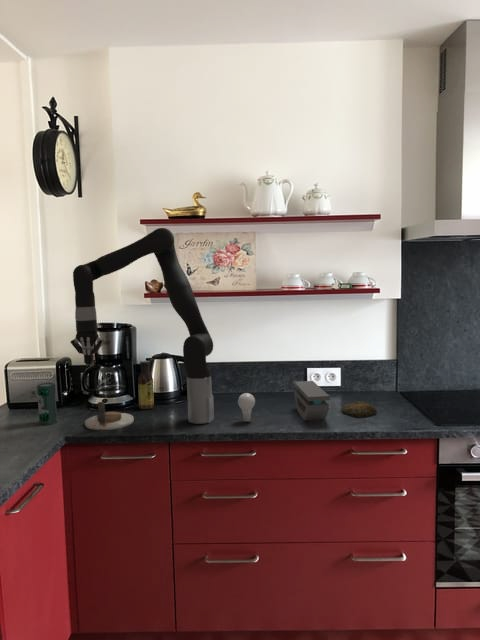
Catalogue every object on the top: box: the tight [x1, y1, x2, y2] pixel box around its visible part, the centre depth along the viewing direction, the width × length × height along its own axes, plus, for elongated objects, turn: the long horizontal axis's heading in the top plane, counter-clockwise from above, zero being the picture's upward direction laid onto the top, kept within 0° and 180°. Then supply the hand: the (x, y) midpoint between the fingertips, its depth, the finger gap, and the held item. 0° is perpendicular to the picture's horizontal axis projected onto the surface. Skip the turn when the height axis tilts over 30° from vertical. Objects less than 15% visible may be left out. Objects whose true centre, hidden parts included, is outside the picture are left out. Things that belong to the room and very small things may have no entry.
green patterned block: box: [36, 382, 58, 426], centre depth 193 cm, size 6×6×15 cm
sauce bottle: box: [137, 360, 155, 410], centre depth 210 cm, size 7×6×20 cm
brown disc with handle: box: [97, 401, 122, 425], centre depth 189 cm, size 14×9×8 cm, turn 176°
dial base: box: [84, 412, 135, 431], centre depth 191 cm, size 18×18×2 cm
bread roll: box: [341, 400, 377, 419], centre depth 196 cm, size 13×12×5 cm
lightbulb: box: [237, 392, 256, 423], centre depth 188 cm, size 6×6×11 cm
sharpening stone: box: [293, 380, 331, 422], centre depth 193 cm, size 25×8×11 cm, turn 6°
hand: (88, 364), depth 188 cm, fingers closed
